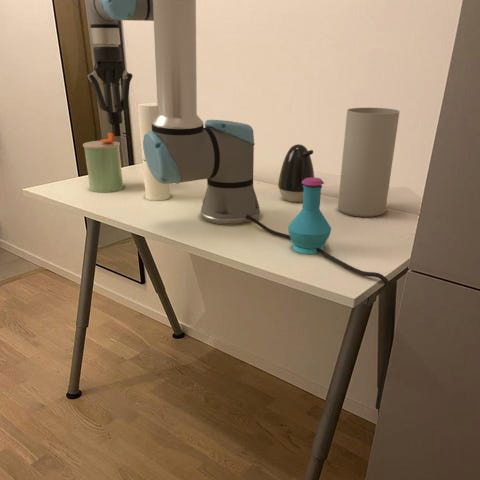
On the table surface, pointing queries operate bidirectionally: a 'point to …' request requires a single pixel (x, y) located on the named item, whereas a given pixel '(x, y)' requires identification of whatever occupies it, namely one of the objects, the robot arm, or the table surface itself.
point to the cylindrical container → (152, 186)
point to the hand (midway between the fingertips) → (116, 135)
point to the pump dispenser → (295, 173)
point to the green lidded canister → (103, 166)
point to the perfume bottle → (309, 220)
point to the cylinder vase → (367, 160)
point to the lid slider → (109, 138)
